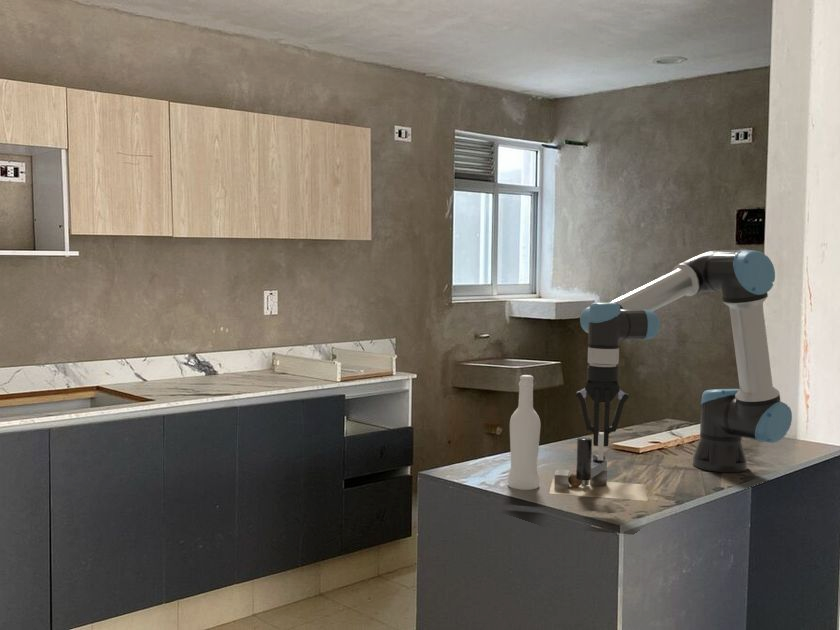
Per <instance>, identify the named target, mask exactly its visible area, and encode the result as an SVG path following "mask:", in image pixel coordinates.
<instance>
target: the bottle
mask: <svg viewBox="0 0 840 630" xmlns="http://www.w3.org/2000/svg"><path fill="white" fill-rule="evenodd" d="M519 379H520V380H519V382H518V387H519V388H518V406H517V408H516V409H515V410H514V412H513V413H512V414H511V417H510V420H509V442H510V443H509V445H510V446H509V447H510V470H509V472H508V476H507V485H508V487H509V488H512V489H515V490H516V489H517V490H522V491H523V490H525V491H526V490H527V491H528V490H529V491H530V490H535V489H538V488H539V487H540V475H539V471H538V460H539V459H538V458H539V448H540V447H539V445H540V435H541V420H540V417H539V415H538V413H537V411H536V410H535V409H534V386H535V385H534V380H535V379H534V376H533V375H531V374H522V375H520V376H519Z"/></svg>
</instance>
